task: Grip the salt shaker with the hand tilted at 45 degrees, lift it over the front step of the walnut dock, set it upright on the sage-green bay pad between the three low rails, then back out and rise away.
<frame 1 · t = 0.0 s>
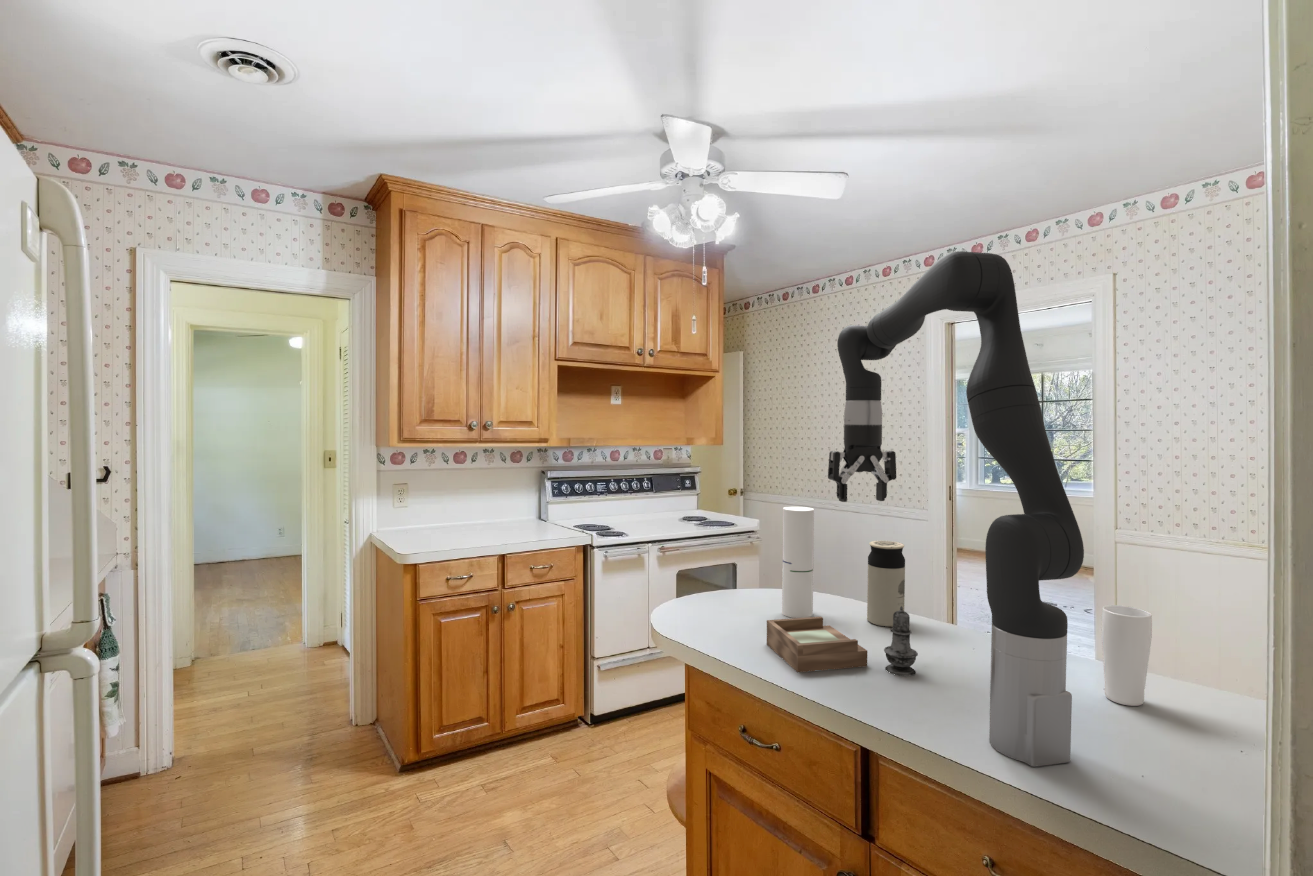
hand: (861, 501, 135), 29 cm above the worktop, tool pointing down, fingers open, 8 cm apart
drinking glass: (1123, 701, 108), on the worktop
travel mug: (885, 622, 148), on the worktop
dock: (814, 654, 128), on the worktop
cylindrical container: (797, 614, 154), on the worktop
salt shaker: (900, 671, 120), on the worktop
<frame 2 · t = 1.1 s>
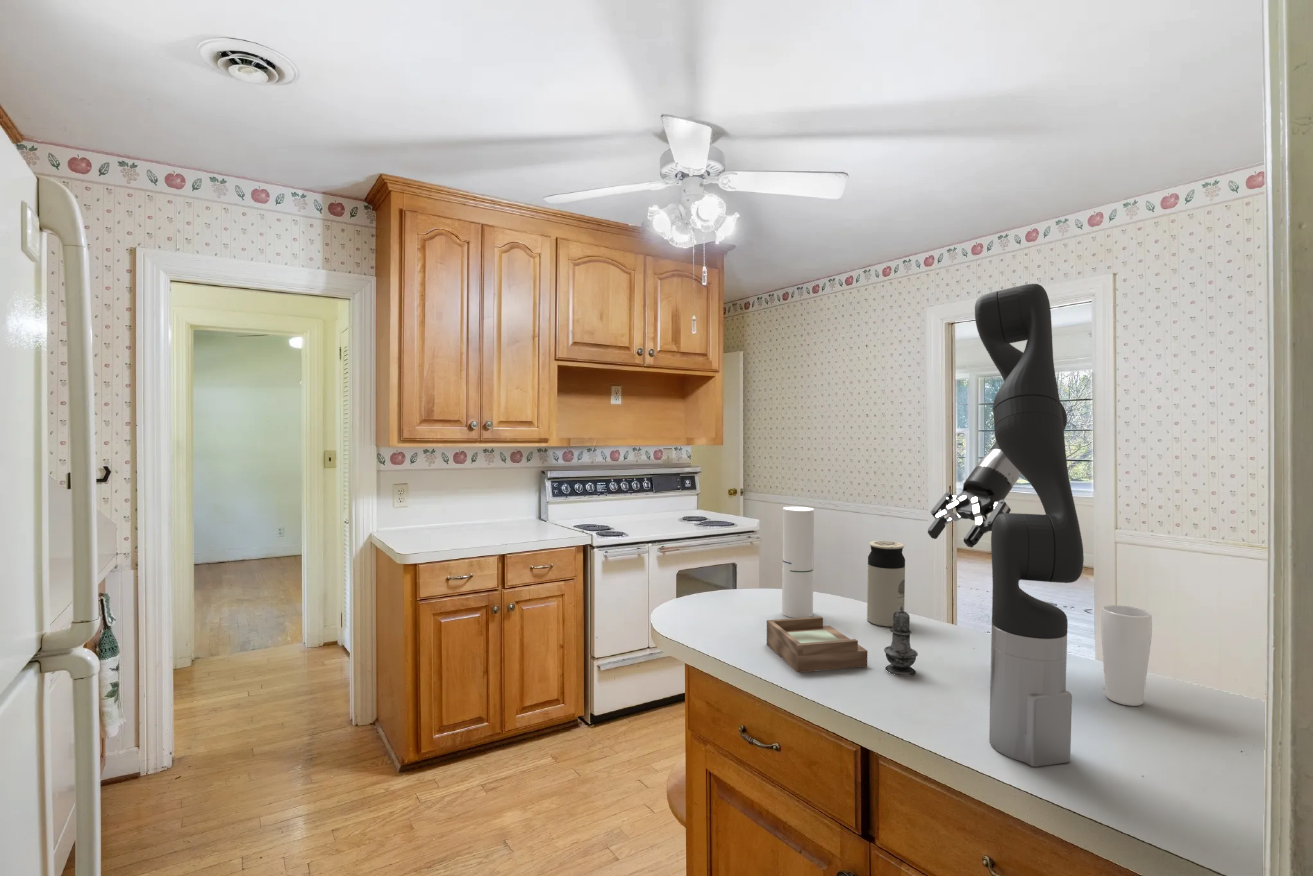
hand: (948, 540, 124), 23 cm above the worktop, tool tilted 45°, fingers open, 8 cm apart
nothing on the worktop moved.
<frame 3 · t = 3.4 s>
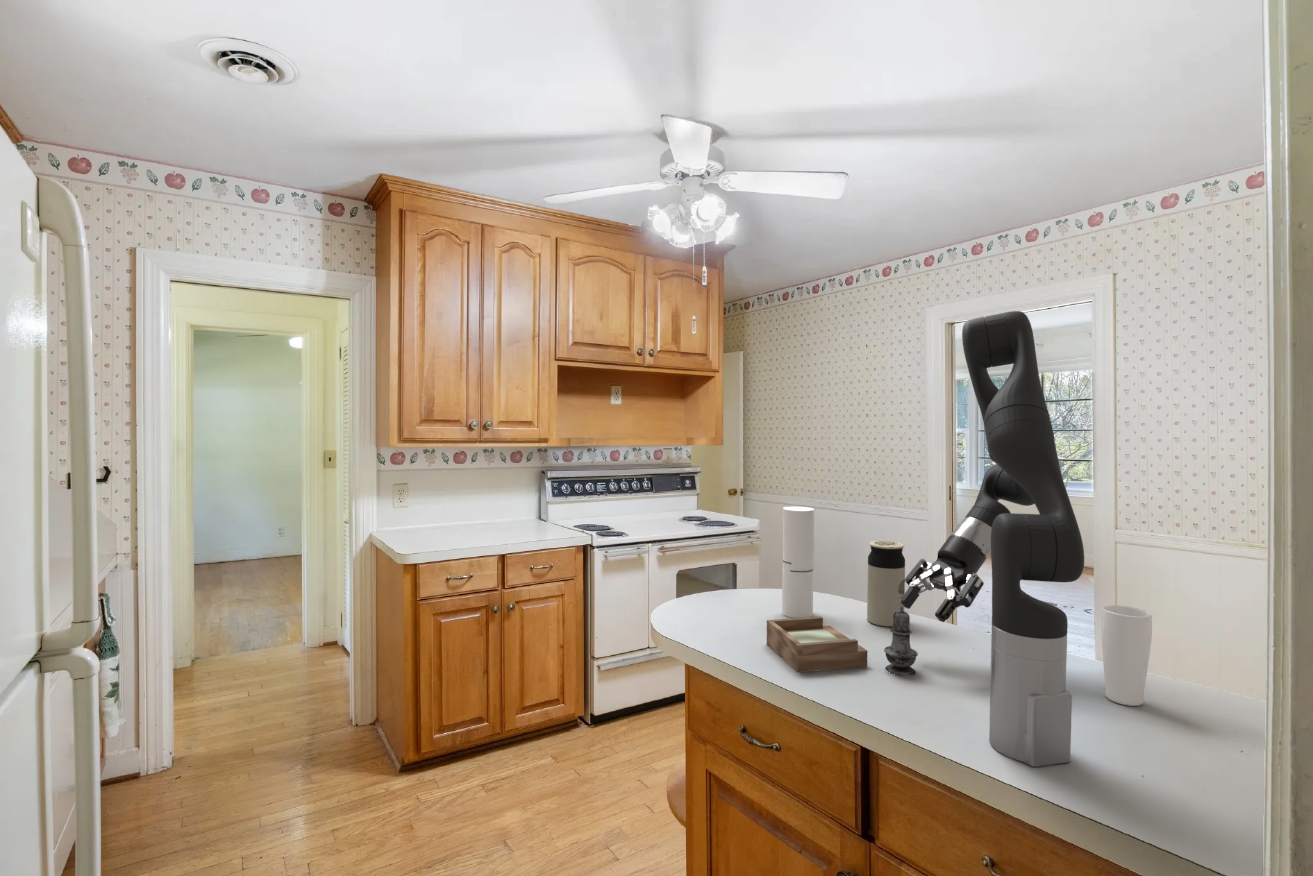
hand: (921, 612, 121), 10 cm above the worktop, tool tilted 45°, fingers open, 8 cm apart
nothing on the worktop moved.
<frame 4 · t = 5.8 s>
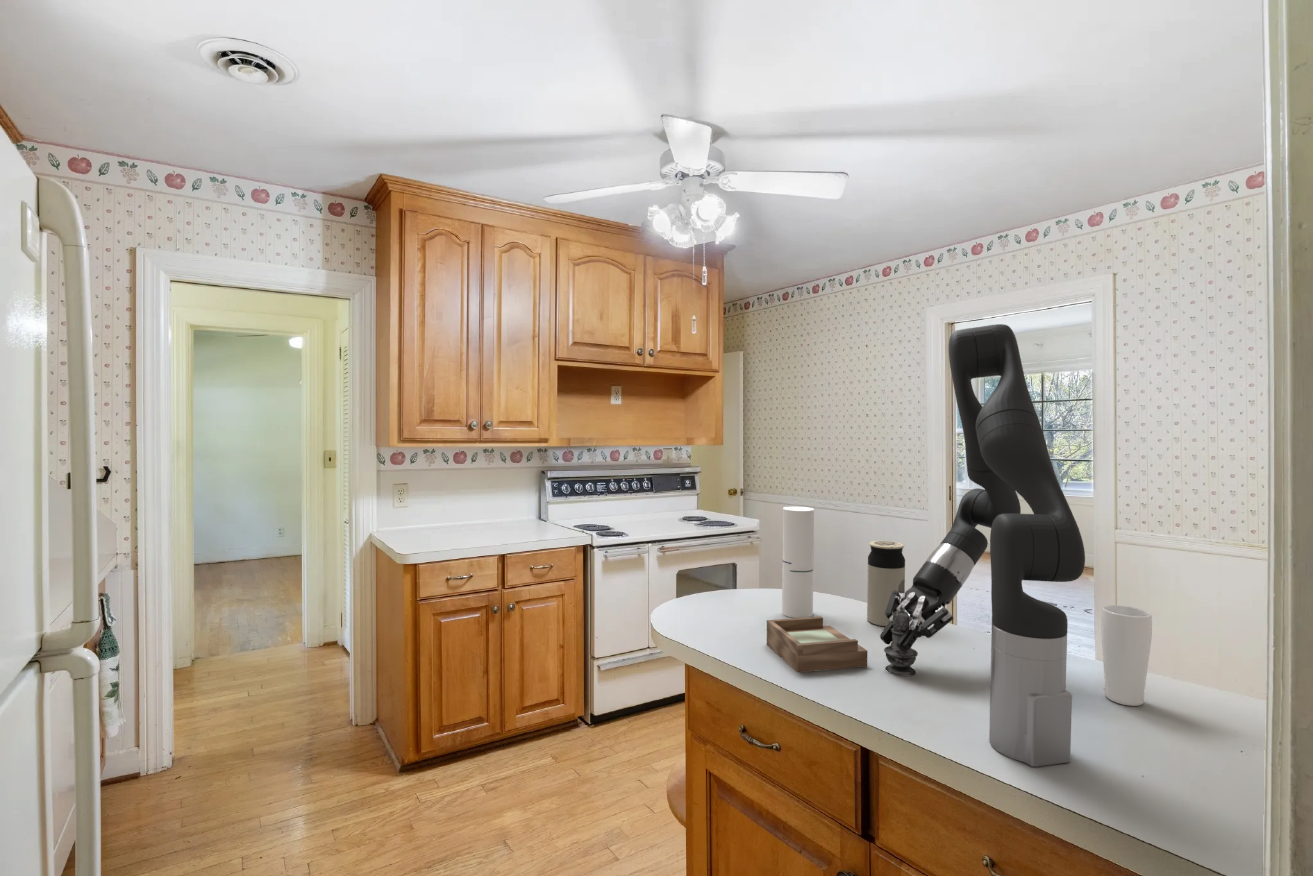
hand: (892, 644, 119), 5 cm above the worktop, tool tilted 45°, fingers closed on salt shaker, 3 cm apart
salt shaker: (900, 671, 120), on the worktop, touching gripper
everything else where it was.
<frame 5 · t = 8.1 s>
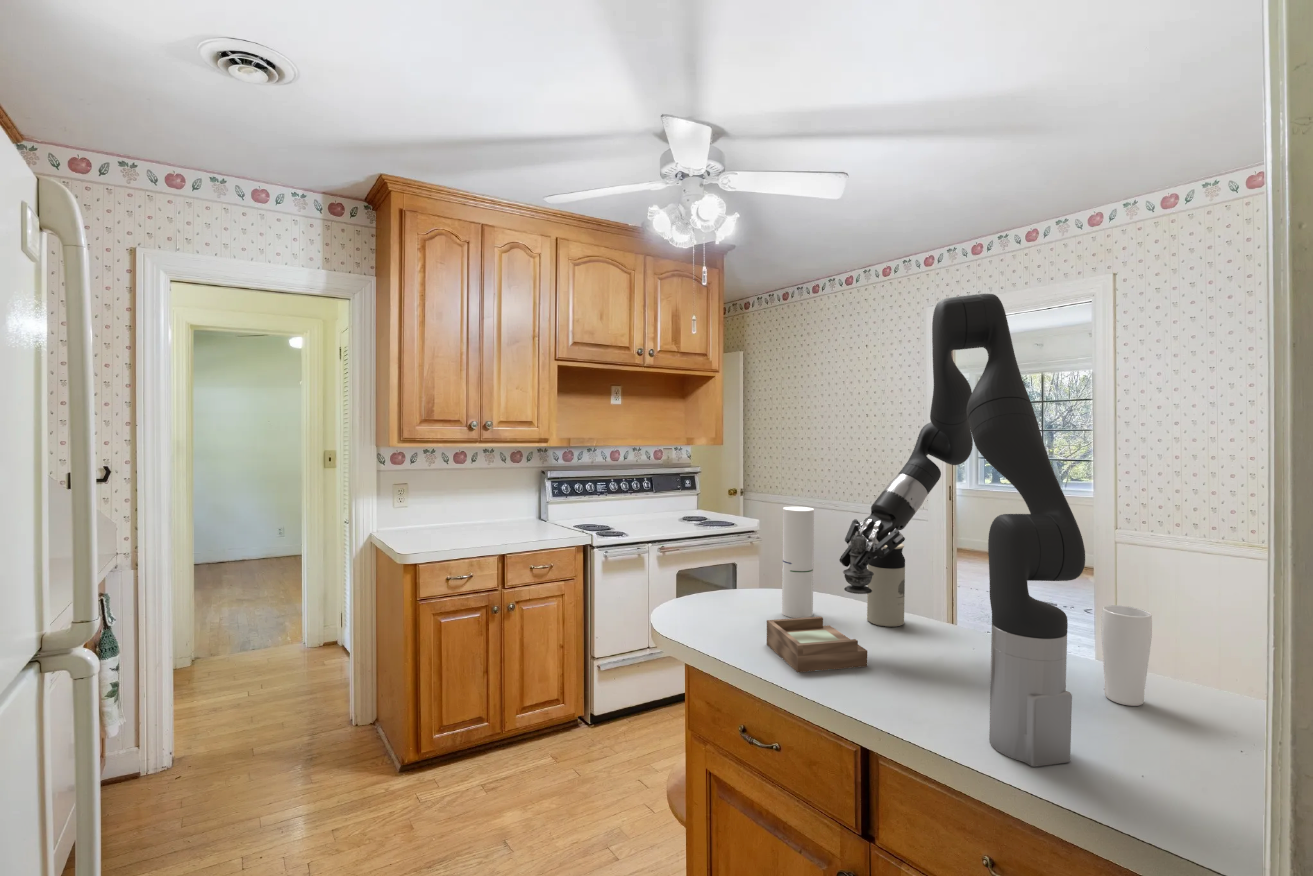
hand: (849, 566, 128), 17 cm above the worktop, tool tilted 45°, fingers closed on salt shaker, 3 cm apart
salt shaker: (858, 591, 129), point 12 cm above the worktop, touching gripper
everything else where it was.
when the fingers open (9 cm above the worktop, at t = 10.7 s): salt shaker drops 1 cm, resting on dock.
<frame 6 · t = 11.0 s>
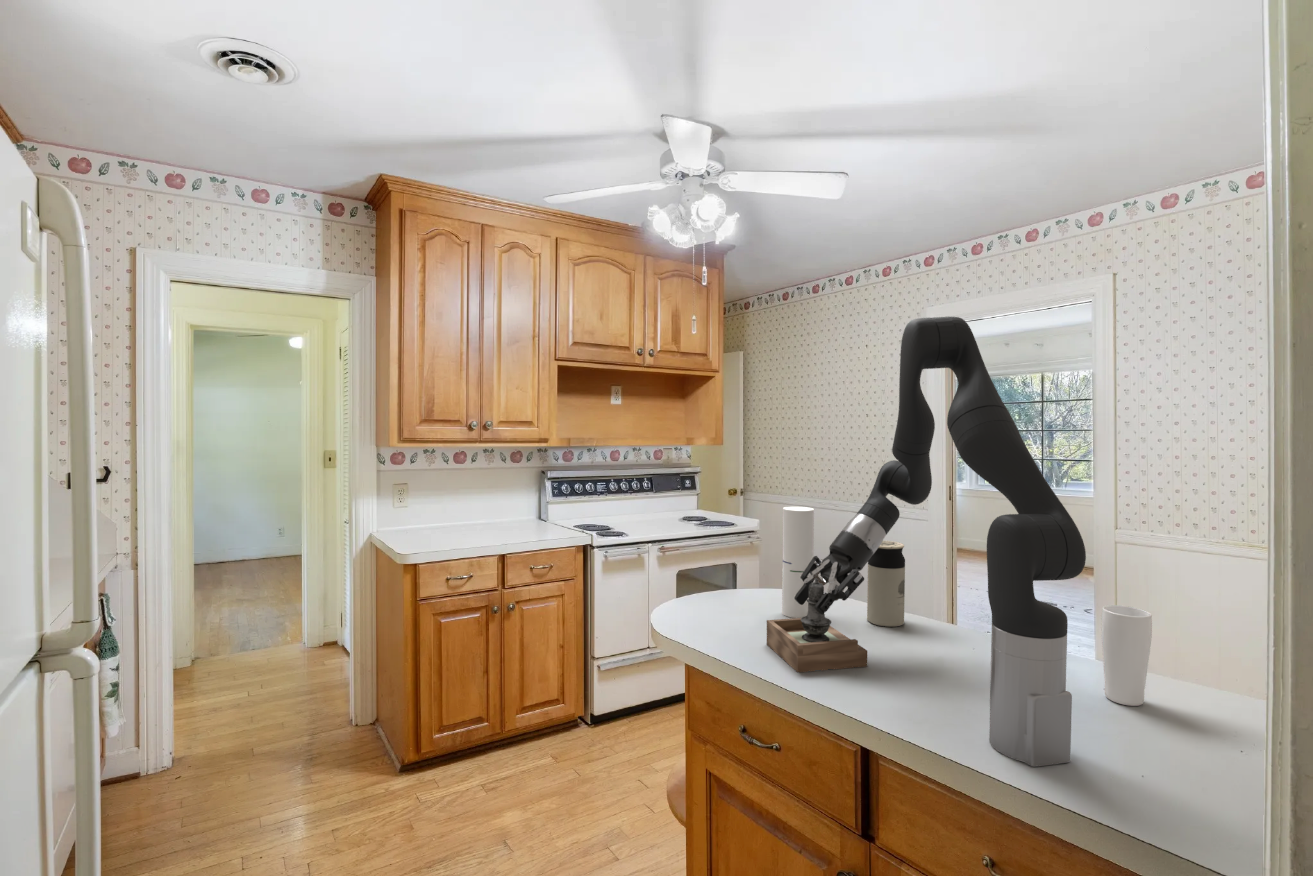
hand: (807, 606, 127), 10 cm above the worktop, tool tilted 45°, fingers open, 6 cm apart
salt shaker: (815, 639, 128), point 3 cm above the worktop, touching dock
everything else where it was.
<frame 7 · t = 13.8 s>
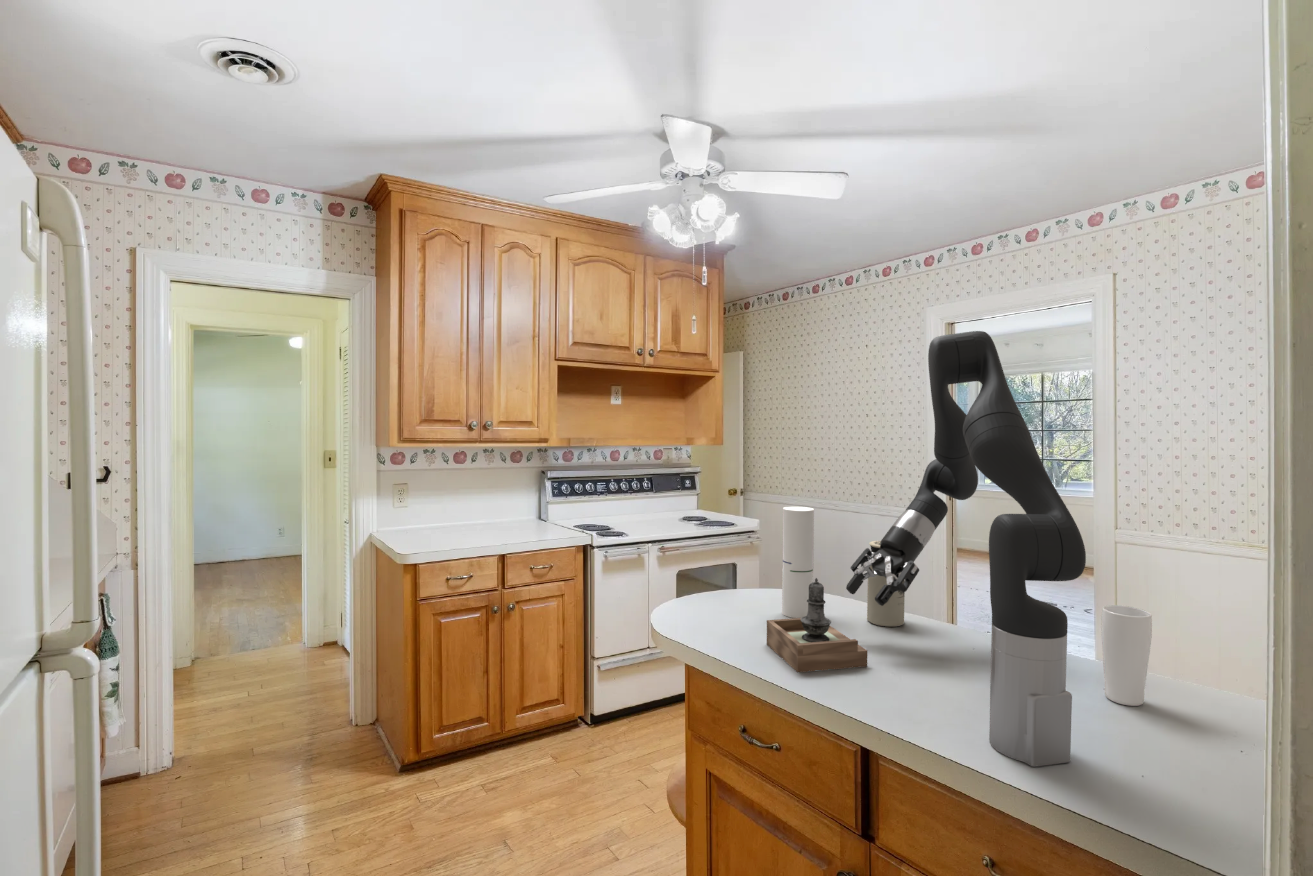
hand: (863, 597, 132), 10 cm above the worktop, tool tilted 45°, fingers open, 8 cm apart
nothing on the worktop moved.
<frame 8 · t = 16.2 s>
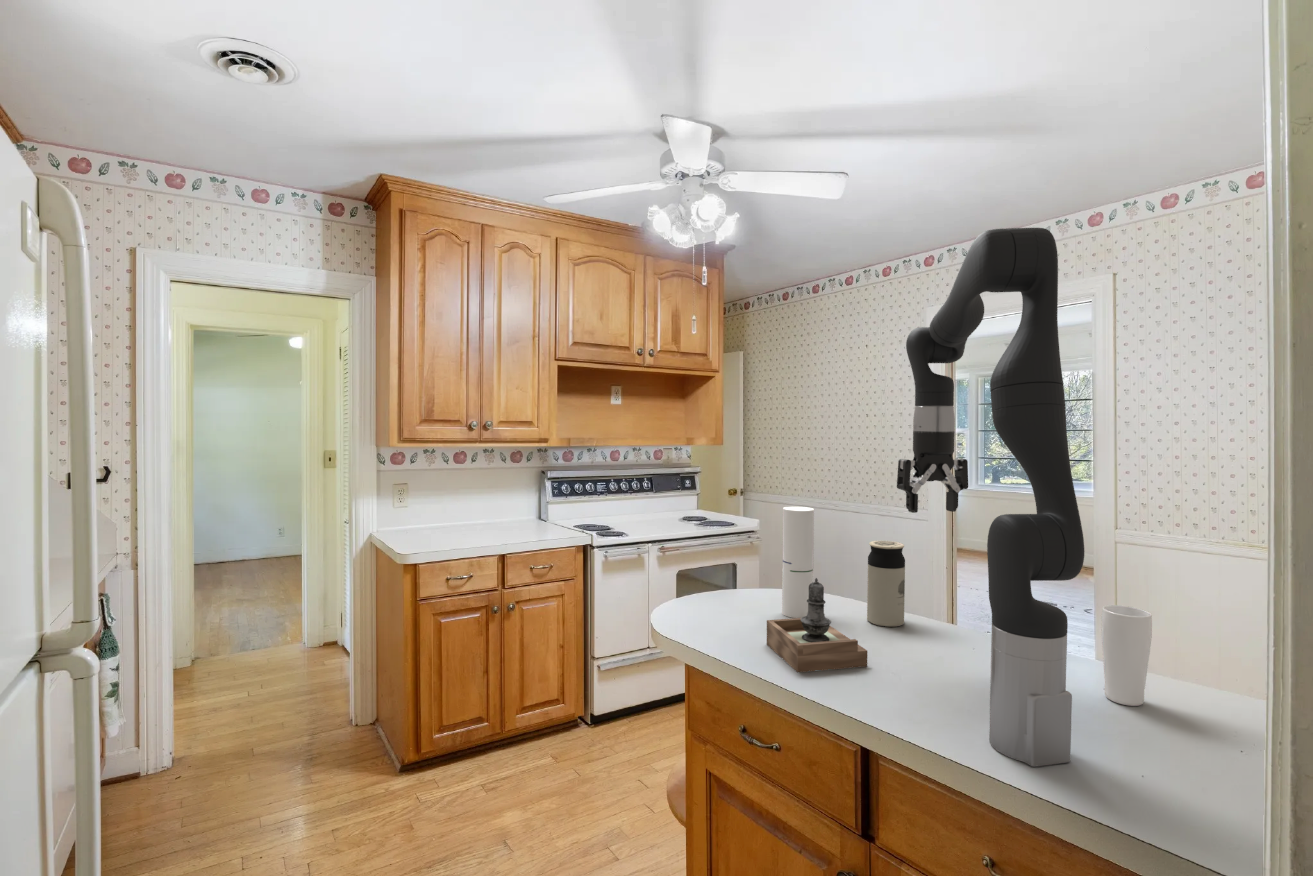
hand: (932, 511, 128), 28 cm above the worktop, tool pointing down, fingers open, 8 cm apart
nothing on the worktop moved.
at the end: salt shaker 0.2 cm off-centre on the dock, point 3.0 cm above the dock's base; salt shaker tilted 0°; the gripper is holding nothing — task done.
